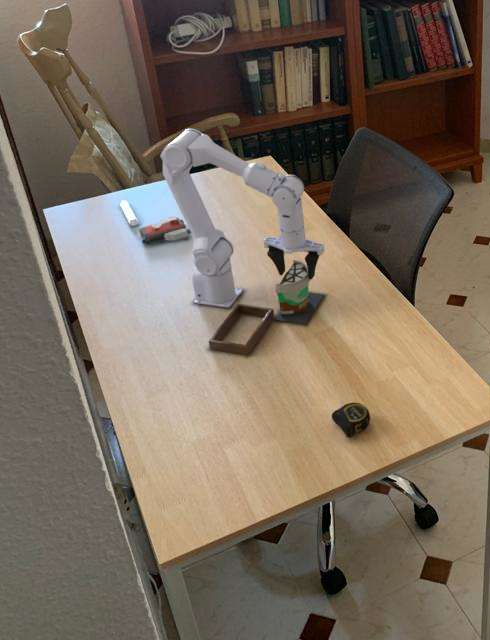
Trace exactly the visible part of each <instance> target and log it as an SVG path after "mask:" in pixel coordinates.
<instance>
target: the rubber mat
mask: <svg viewBox="0 0 490 640" xmlns="http://www.w3.org/2000/svg"><path fill="white" fill-rule="evenodd" d="M308 294H309V305H308V308H307V309H306V310H305V311H304V312H302V313H300V314H298V315H294V316H282V315H281V310H280V311H279V312H278V314H277V316H276V317H274V321H275V322H281V323H282V322H283V323H289V324H296V325H303V326H306V325H307V324H308V322H309V321H310V318H311V317H312V316H313V314H314V313H315V311H316V310H317V308H318V306H319V304H320V303H321V301H322V300H323V298H324V296H325V294H323V293H317V292H309V291H308Z"/></svg>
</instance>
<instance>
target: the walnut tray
mask: <svg viewBox="0 0 490 640" xmlns="http://www.w3.org/2000/svg"><path fill="white" fill-rule="evenodd" d="M240 315H248V316H253V317H261V318H263V319H262V320H261V322H260V323H259V324H258V326H257V327H256V329H255V330H254V331H253V333H252V334H251V335H250V337H249V338H248V340H247V341H246V343H245V344H242V343H237V342H236V343H235V342H230V341H223V340H222V339H223V337H224V336H225V335H226V334H227V332H228V331H229V329H230V328H232V326H233V325H234V323H235V322H236V320H237V319H238V318H239V317H240ZM275 318H276V317H275V309H274V308H272V307H265V306H259V305H258V306H257V305H251V304H243V303H237V304H236V305H235V306H234V307H233V309H232V310H231V311H230V313H229V314H228V315H227V317H226V318H225V319H224V320H223V322H222V323H221V324H220V325H219V327H218V329H217V330H216V331H215V332H214V334H213V335H212V336H211V337H210V339H208V344H209V349H210V351H218V352H223V353H229V354H236V355H243V356H249V354H250V353H251V351H252V350H253V349H254V347H255V346H256V345H257V344H258V341H259V340H260V338H261V337H262V336H263V334H264V333H265V331H267V329H268V327H269V326H270V324H271V323H272V321H273V320H274V319H275Z"/></svg>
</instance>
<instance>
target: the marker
mask: <svg viewBox="0 0 490 640" xmlns="http://www.w3.org/2000/svg"><path fill="white" fill-rule="evenodd" d="M119 206H120V208H121V210H122V212H123V214H124V216H125V218H126V220H127V222H128V223H129V225H131V226H132V227H135V226H138V224H139V220H138V219H137V216H136V215H135V213H134V211H133V209H132V207H131V205H130V204H129V202H128V201H127V200H122V201H121V202H120V203H119Z"/></svg>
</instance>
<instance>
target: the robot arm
mask: <svg viewBox="0 0 490 640" xmlns="http://www.w3.org/2000/svg"><path fill="white" fill-rule="evenodd" d="M160 159H161V161H162V174H163V177H164V180H165V181H166V184H167V185H168V187H169V190H170V192H171V194H172V196H173V198H174V200H175V203H176V204H177V206H178V208H179V211H180V213H181V215H182V217H183V219H184V221H185V224H186V226H187V228H188V229H190V231H191V233H190V234H191V236H192V238H193V243H192V249H191V252H192V255H193V258H194V269H193V270H192V275H191V281H192V286H193V292H194V297H195V300H194V303H195V304H198V305H199V304H200V305H206V306H212V307H221V308H227V309H229V308H230V307H231V306H232V305H233V304H234V302H235V301H236V300H237V298H238V297H239V296H240V295H241V293H242V292H243V289H242V288H236V287H235V280H234V274H233V268H232V263H231V257H232V255H233V254H234V250H235V249H234V245H233V244H232V241H230V240H229V239H228V237H226V235H225V233H224V231H223V230H219V229H216V228H215V226H214V223H213V221H212V219H211V217H210V215H209V212H208V210H207V208H206V206H205V204H204V202H203V200H202V197H201V195H200V192H199V190H198V189H197V186H196V184H195V182H194V180H193V178H192V175H191V174H190V171H191V169H192V168H196V167H199V166H204V165H206V164H207V165H208V164H210V165H213V166H216V167H218V168H220V169H222V170H224V171H227V172H229V173H232V174H234V175H236V176H238V177H241V178H242V180H243V183H244V184H245V185H246V186H248V187H250V188H252V189H253V190H255V191H257V192H260V193H261V194H263V195H265V196H267V197H269V198H270V199H271V201H272V203H273V204H274V205H275V206H276V208H277V217H278V226H279V234H280V235H279V236H278V237H277V236H276V237H269V236H266V237H265V238H264V240H263V247H264V249H268V250H267V252H266V255H267V257H268V258H269V259H270V260H271V261H272V263H273V264H274V266H275V267H276V270H277V273H278V274H279V276H283V275H284V273H286V263H285V254H288V255H293V253H303V252H304V253H307V254H306V256H305V257H304V261H305V265H306V266H307V268H308V277H309V279H310V280H313V279H314V277H315V276H316V268H317V264H318V261H319V259H320V257H321V256H322V255H324V253H325V244H323V243H318V242H315V241H312V240H310V239H307V238H306V231H305V220H304V210H303V209H304V208H303V202H302V195H303V194H304V192H305V185H304V182H303V181H302V179H300V178H299V177H298V176H297V175H295V174H284V173H279V172H277V171H275V170H273V169H271V168H269V167H267V164H265V163H263V162H260V163H259V162H257V161H256V162H252V163H249V162H247V161H245V160H243V159H242V158H240V157H238V156H237V155H235V154H234V153H232V152H231V151H229V150H226V149H225V148H224V147H221V146H220V145H218V144H217V143H215V142H214V141H213V140H212V139H211V137H210V136H209V135H208V134H206V133H202V132H201V131H199V130H198V129H196V128H186V129H184V130H183V131H182V132H181V134H180V135H179V136H177V137H176V138H175V139H174V140H172V141H171V142H170V143H168V144H167V145H165V146H164V148H163V150H162V152H161V153H160Z"/></svg>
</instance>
